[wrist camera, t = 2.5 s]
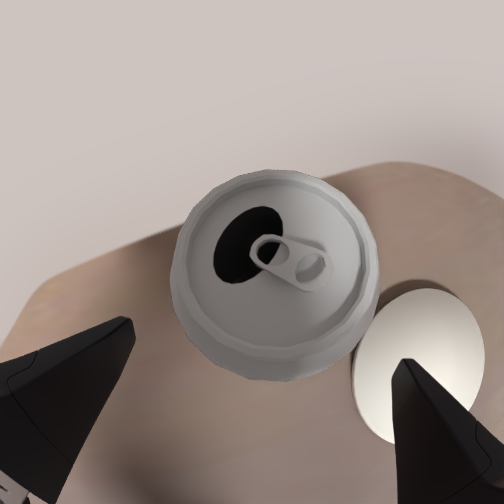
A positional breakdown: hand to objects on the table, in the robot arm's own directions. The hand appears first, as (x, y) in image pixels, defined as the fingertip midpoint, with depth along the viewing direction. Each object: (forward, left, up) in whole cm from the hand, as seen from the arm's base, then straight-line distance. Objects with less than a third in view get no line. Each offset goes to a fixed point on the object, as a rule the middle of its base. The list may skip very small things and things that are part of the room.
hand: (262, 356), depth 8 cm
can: (+2, -2, -11) cm, 11 cm away
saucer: (-8, -9, -10) cm, 16 cm away
